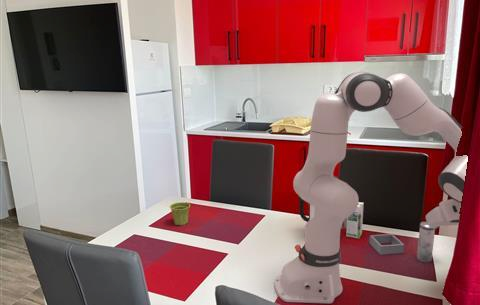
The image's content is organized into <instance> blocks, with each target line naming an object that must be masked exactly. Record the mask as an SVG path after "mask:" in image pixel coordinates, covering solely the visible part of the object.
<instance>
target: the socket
mask: <svg viewBox="0 0 480 305" xmlns="http://www.w3.org/2000/svg"><path fill="white" fill-rule="evenodd" d="M368 243H369V244H370V246H371V247H372V248H373V249H374V251H376V252H377V253H378V254H379V255H380V256H383V255H394V254H396V255H397V254H404V253H405V245H406V244H404V243H403V242H402V241H401V240H400V239H398V238H397V237H396V236H395V235H394V234H393V233H387V234H373V235H369V242H368ZM390 243H391V244H390ZM382 244H383V245H382Z"/></svg>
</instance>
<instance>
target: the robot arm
mask: <svg viewBox="0 0 480 305" xmlns="http://www.w3.org/2000/svg"><path fill="white" fill-rule="evenodd" d="M380 108H384V110H385V111H387V113H388V115H389V116H390V118H391V119H392V120H393V121H394V123H395V124H396V126H397V127H398V128H399V130H401V132H403V133H405V134H406V135H409V136H414V137H416V136H418V137H419V136H423V135H427V134H430V133H433V132H436V133H438V134H439V135H440V136H441V137H442V138H443V139H444V140H445V141H446V143H448V144H449V146H450V147H451V148H452V149H453V150H454V158H452V160H451V161H450V162H449V164H448V165H447V166H445V168H444V169H443V170H442V171H441V173H440V174H439V175H438V179H437V180H438V181H437V182H438V184H439V187H440V189H441V190H442V191H443V192H444V194H445V195H446V196H447V197H449V198H450V199H447V200H443V201H440V202H439V204H438V205H439V206H436V207H435V208H433V209H432V210H430V211H429V212H427V214H426V215H425V220H426V221H425V222H427V223H428V225H429V226H430V227H432V228H435V229H438V228H439V227H444V226H445V227H447V226H449V227H450V226H459V225H458V223H459V212H460V208H461V201H462V196H463V189H464V182H465V176H466V169H467V162H468V156H467V155H463V156H456V152H457V147H458V144H459V141H460V138H461V136H462V131H461V129H462V127H463V126H462V125H461V124H460V122H458V120H456V118H455V117H454V116H452V114H450V112H448V111H447V110H445V109H444V108H441V107H437V105H435V104H434V103H433V102H432V101H431V100H430V99H429V97H428V96H427V95H426V93H425V91H423V89H422V88H421V87H420V85H418V83H416V82H415V81H414V79H412V78H411V76H409V75H408V74H406V73H402V72H401V73H400V72H399V73H394V74H391V75H390V76H388V77H387V78H383V77H381V76H379V75H376V74H374V73H370V72H367V71H357V72H353V73H351V74H348V75H347V76H345V78H343V80H342V81H341V82H340V84H339V85H338V87H337V89H336V90H335V92H334V93H328V94H323V95H322V96H320V97H318V98H317V99H316V101H315V104H314V107H313V111H312V115H311V122H310V131H309V132H310V133H309V144H308V153H307V157H306V160H305V163H304V166H303V168H302V169H301V170H300V171H298V172H297V173H296V175H295V176H294V178H293V181H292V182H293V183H292V184H293V185H292V186H293V190H294V191H295V193H296V194H297V195H298V197H299V196H300V197H301V198H302V199H303V200H304V202H306V203H307V204H308V205H309V204H311V205H313V206H314V209H315V213H314V217H313V218H312V219H311V220H309V221H308V222H306V223H305V226H304V245H303V246H302V247H301V245H300V244H295V246H294V250H295V252H296V253H298V256H296V257H295V258H294V259H292V260H291V261H289V262H288V263H286V264H284V265H283V267H282V270H281V274H279V275H277V276H275V279H274V282H273V284H274V285H273V286H274V289H275V290H274V291H275V292H276V294H277V296H278V297H279V298H280V299H281V300H282V301H283V302H286V303H302V304H303V303H308V304H309V303H310V304H333V302H334V301H335V298H337V297H338V296H340V295H341V294H342V292H343V285H342V280H341V273H340V264H341V258H342V257H341V255H342V254H341V248H340V239H341V238H340V235H341V229H342V228H341V226H342V223H343V221H344V220H345V218H347V217H349V216H351V215H352V214H353V213H354V212H355V210H356V208H357V206H358V202H359V195H358V193H357V191H356V190H355V189H354V188H352V186H350V185H349V184H348V183H347V182H345V181H343V180H341V179H339V178H338V179H336V178H334V177H333V176H334V171H335V168H336V166H337V164H339V163H340V162H341V163H342V161H343V160H345V158H346V153H347V142H348V132H349V121H350V118H351V116H352V115H353V113H354V112H355V111H357V112H360V113H367V112H372V111H375V110H378V109H380Z"/></svg>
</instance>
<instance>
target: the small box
mask: <svg viewBox="0 0 480 305" xmlns="http://www.w3.org/2000/svg"><path fill="white" fill-rule="evenodd" d="M341 229H343V230H347V218H345V220H344V221H343V223H342V226H341Z"/></svg>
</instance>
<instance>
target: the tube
mask: <svg viewBox="0 0 480 305" xmlns="http://www.w3.org/2000/svg"><path fill="white" fill-rule="evenodd" d="M435 231H436V228H432V227H430V226H429V225H428V223H427V221H421V222H420V223H419V234H418V242H417V251H416V252H417V253H416V259H417V260H418V261H420V262H422V263H430V262H432V260H433V259H432V258H433V253H434V252H433V250H434V241H435Z"/></svg>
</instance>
